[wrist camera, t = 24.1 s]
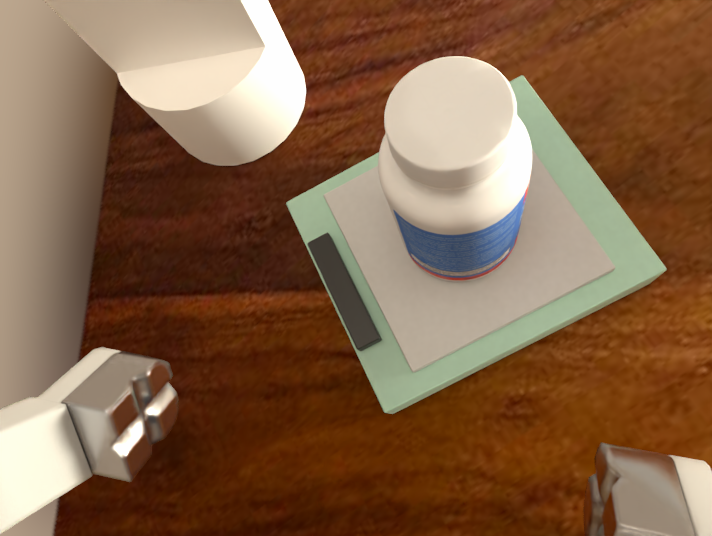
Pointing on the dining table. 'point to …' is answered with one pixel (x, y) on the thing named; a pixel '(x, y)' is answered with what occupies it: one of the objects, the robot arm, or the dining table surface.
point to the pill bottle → (455, 167)
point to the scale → (477, 297)
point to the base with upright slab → (199, 69)
